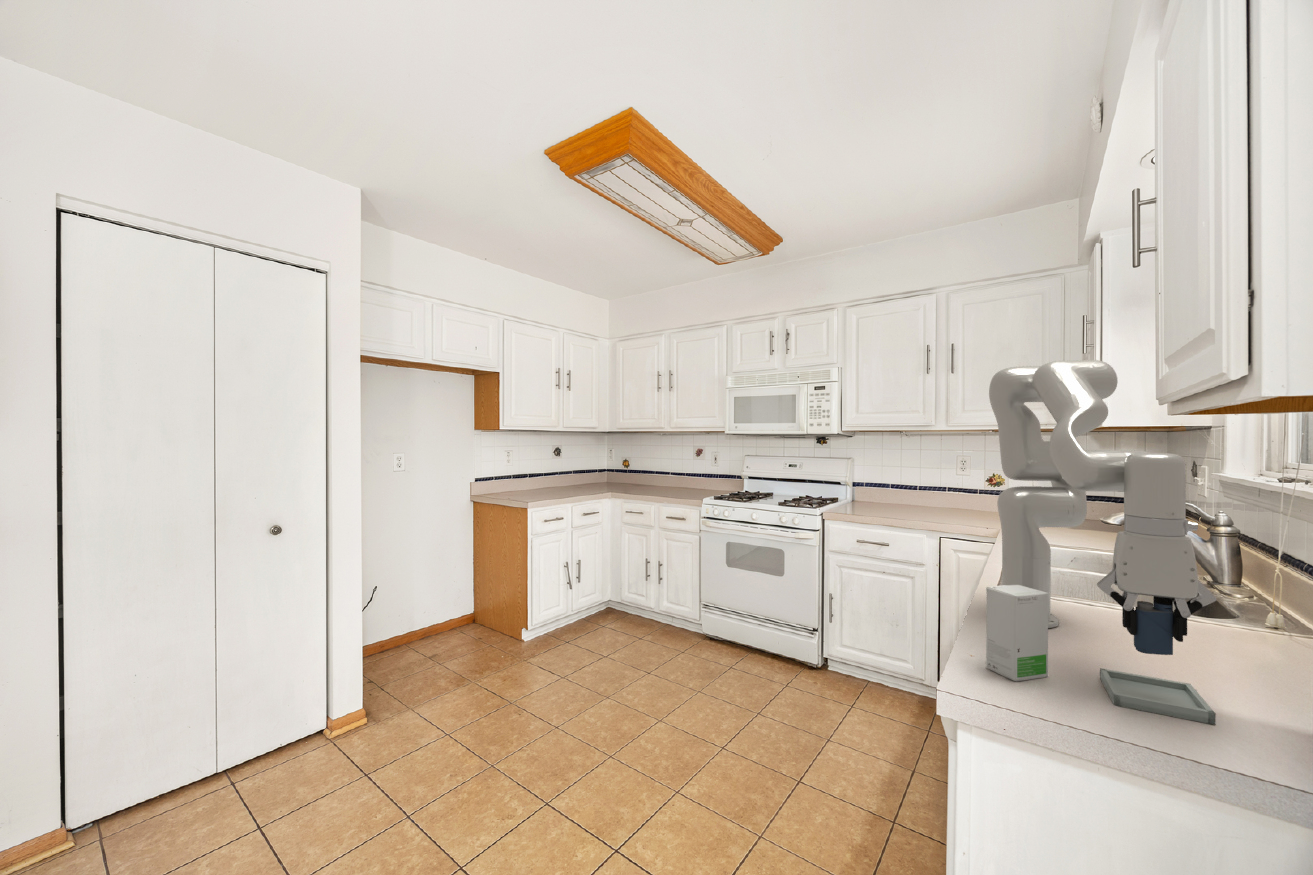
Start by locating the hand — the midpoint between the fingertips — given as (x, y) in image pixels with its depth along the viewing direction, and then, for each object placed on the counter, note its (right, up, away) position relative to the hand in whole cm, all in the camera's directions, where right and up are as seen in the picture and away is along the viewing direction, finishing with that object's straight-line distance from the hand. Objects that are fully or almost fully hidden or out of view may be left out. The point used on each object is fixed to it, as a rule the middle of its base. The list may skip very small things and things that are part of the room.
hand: (1153, 634), depth 89 cm
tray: (0, -11, 0) cm, 11 cm away
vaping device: (0, -3, 0) cm, 3 cm away
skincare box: (-16, -11, +11) cm, 22 cm away
